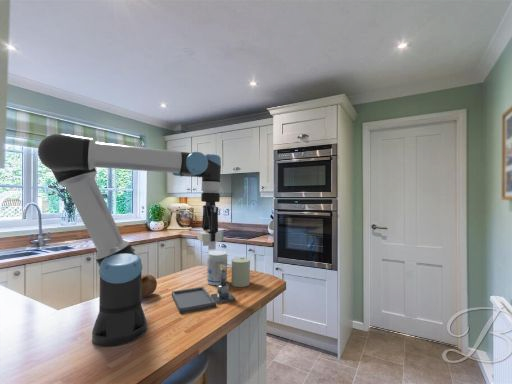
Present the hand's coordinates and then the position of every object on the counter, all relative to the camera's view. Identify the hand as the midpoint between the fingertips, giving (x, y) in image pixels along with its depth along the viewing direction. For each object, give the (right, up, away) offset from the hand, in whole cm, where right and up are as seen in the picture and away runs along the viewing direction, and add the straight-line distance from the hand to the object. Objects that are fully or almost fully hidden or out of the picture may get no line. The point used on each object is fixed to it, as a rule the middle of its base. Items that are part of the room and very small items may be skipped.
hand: (208, 247), depth 109 cm
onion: (-28, -22, +4) cm, 35 cm away
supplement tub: (0, -22, +21) cm, 31 cm away
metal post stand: (+6, -22, +1) cm, 22 cm away
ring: (0, +3, 0) cm, 3 cm away
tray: (-6, -22, -1) cm, 22 cm away
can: (+12, -22, +20) cm, 32 cm away
